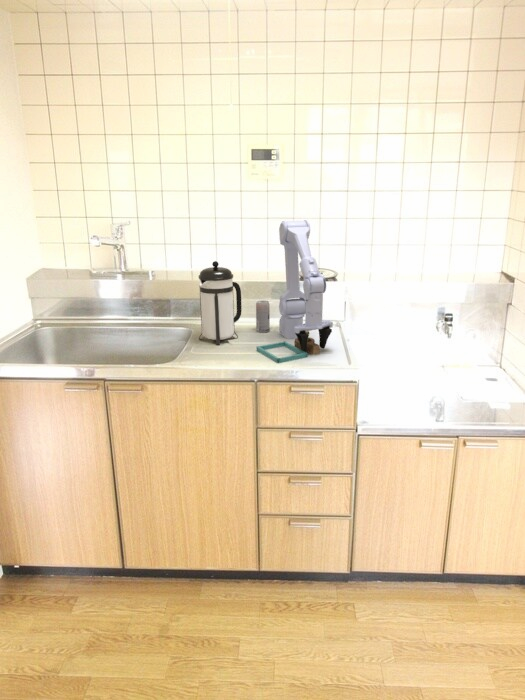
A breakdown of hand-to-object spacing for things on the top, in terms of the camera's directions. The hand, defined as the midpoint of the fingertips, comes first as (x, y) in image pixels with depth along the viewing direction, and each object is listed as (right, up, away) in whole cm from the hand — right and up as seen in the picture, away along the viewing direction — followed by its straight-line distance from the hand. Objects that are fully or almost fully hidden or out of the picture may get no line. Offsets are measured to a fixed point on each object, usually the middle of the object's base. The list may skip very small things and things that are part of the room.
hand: (313, 349), depth 178 cm
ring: (-2, 0, +3) cm, 4 cm away
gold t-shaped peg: (-3, 0, +5) cm, 6 cm away
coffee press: (-34, +4, +20) cm, 40 cm away
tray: (-11, -2, 0) cm, 11 cm away
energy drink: (-17, +7, +29) cm, 35 cm away
